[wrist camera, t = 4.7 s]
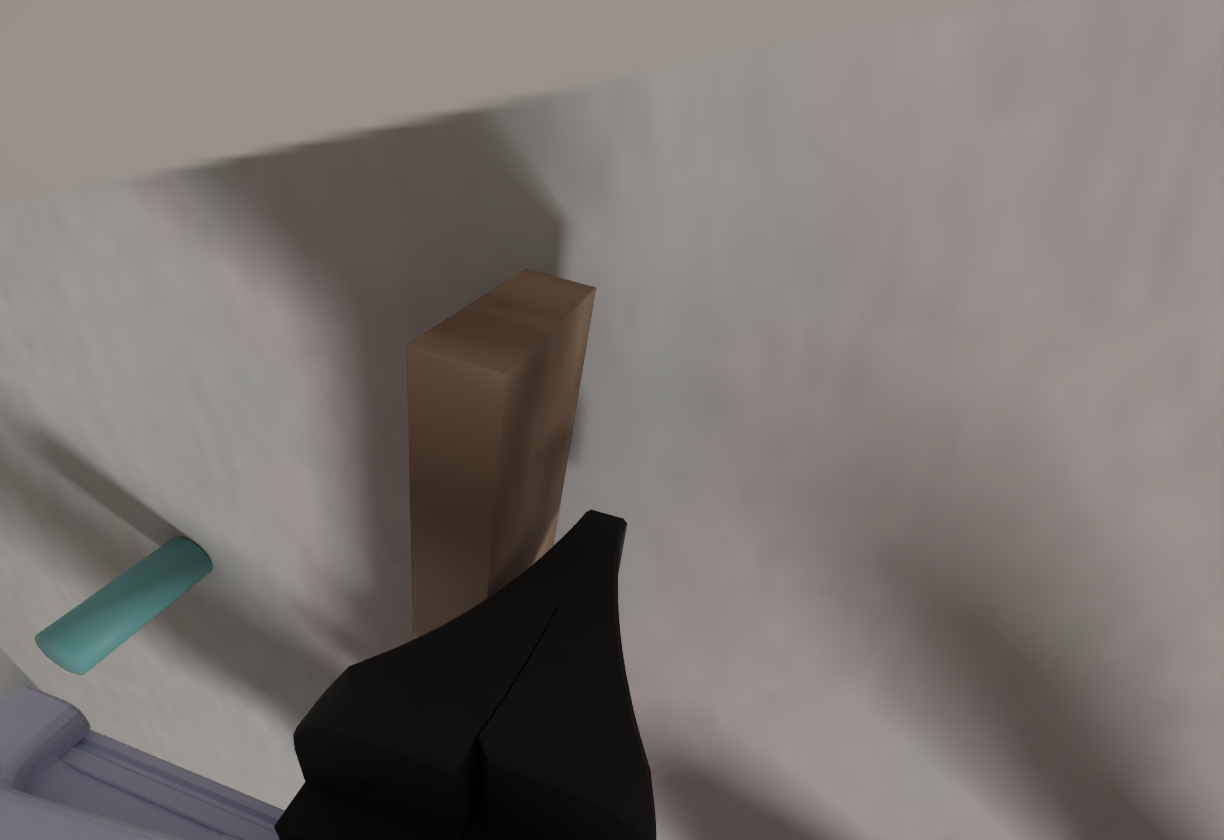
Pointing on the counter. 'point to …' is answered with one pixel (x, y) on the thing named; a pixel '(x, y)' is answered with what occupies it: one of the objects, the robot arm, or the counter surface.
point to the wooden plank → (491, 439)
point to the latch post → (123, 606)
